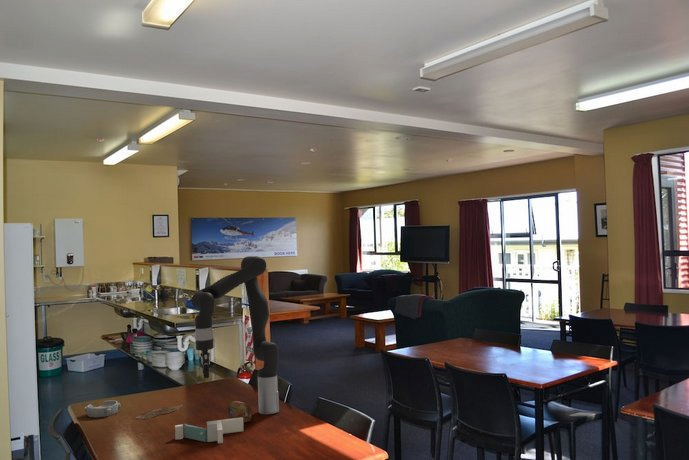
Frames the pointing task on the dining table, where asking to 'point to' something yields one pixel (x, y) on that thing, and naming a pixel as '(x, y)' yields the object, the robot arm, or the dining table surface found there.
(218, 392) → the dining table surface
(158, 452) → the dining table surface
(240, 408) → the tin
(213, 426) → the block
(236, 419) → the grey angled piece
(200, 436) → the teal long flat block
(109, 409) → the dish
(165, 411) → the wooden fragment
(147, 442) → the dining table surface
